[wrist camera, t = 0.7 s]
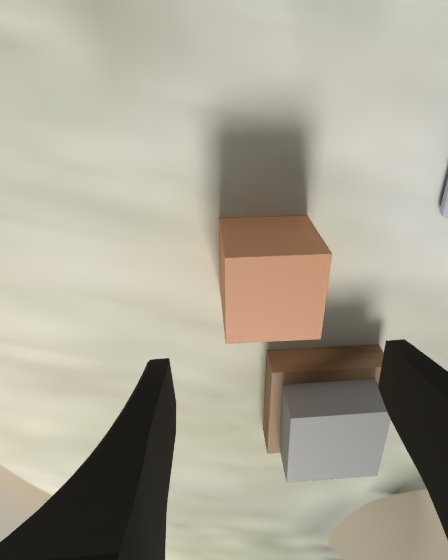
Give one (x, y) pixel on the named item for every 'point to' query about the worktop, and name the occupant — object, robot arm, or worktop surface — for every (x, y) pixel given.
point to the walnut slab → (312, 376)
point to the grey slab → (332, 430)
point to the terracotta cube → (272, 278)
